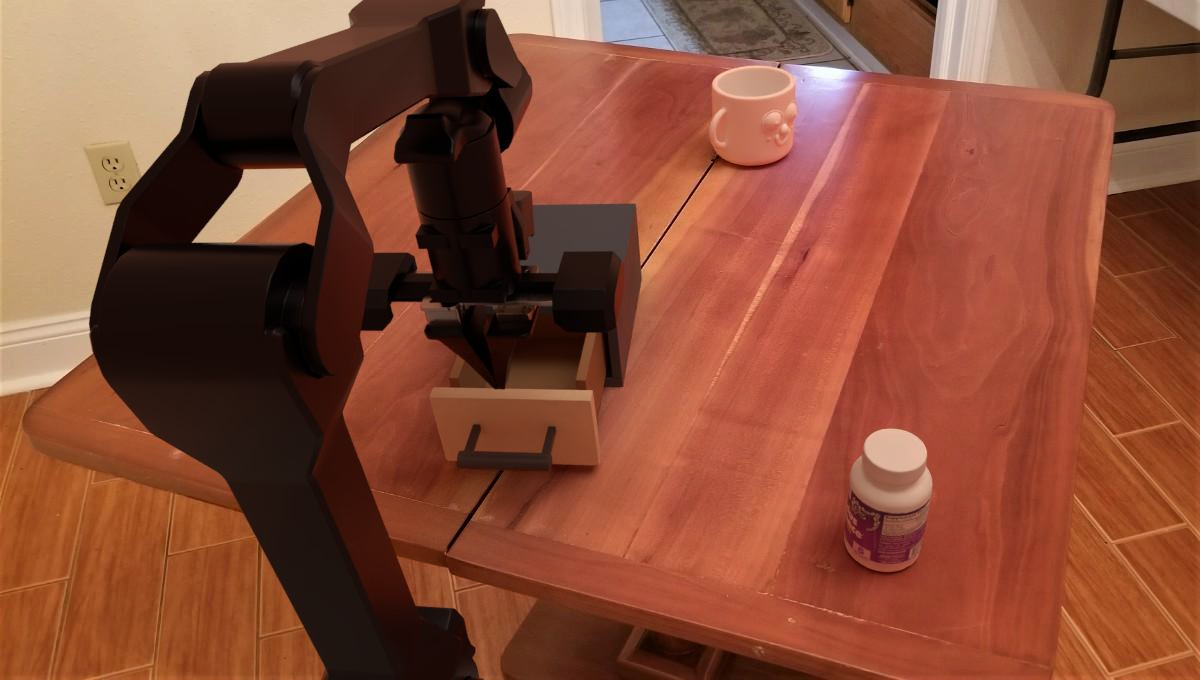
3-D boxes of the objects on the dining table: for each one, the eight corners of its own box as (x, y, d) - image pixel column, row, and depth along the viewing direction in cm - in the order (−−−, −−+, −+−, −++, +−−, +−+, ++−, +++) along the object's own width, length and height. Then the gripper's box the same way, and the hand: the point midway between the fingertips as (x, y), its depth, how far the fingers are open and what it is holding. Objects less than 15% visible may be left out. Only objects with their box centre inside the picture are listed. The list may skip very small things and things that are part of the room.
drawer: (591, 506, 71) (582, 441, 66) (431, 500, 73) (412, 436, 68) (622, 342, 86) (615, 281, 82) (489, 341, 88) (476, 281, 84)
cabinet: (623, 386, 83) (614, 306, 77) (472, 383, 85) (454, 305, 79) (641, 278, 96) (635, 203, 90) (510, 278, 98) (497, 205, 92)
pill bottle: (830, 526, 68) (838, 430, 62) (897, 508, 69) (912, 412, 63) (863, 584, 64) (876, 487, 58) (935, 564, 65) (954, 467, 59)
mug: (743, 188, 108) (744, 114, 103) (683, 160, 115) (680, 90, 109) (813, 151, 114) (817, 80, 108) (751, 127, 120) (752, 58, 115)
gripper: (625, 133, 63) (640, 319, 72) (362, 140, 66) (410, 317, 75) (603, 220, 54) (624, 417, 64) (302, 224, 57) (365, 411, 67)
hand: (501, 385), depth 68 cm, fingers closed
